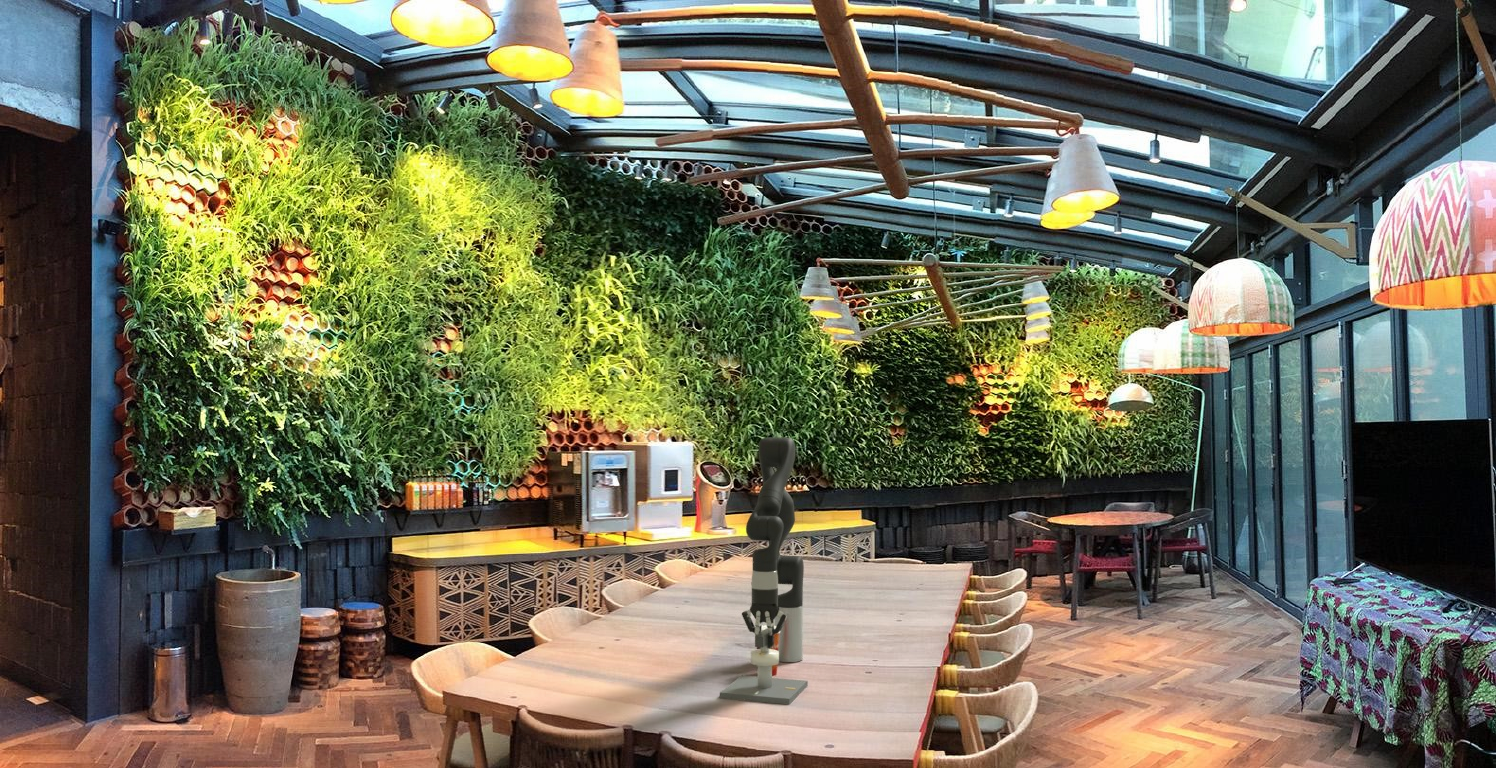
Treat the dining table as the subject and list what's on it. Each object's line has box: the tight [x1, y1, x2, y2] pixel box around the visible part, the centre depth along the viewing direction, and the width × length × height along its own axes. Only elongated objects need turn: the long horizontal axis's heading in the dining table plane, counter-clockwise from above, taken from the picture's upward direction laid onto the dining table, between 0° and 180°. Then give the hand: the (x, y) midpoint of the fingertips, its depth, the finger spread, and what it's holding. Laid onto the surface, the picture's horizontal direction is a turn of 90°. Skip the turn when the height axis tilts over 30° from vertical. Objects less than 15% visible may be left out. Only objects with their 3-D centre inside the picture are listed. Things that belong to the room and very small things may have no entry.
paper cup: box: [756, 624, 781, 677], centre depth 301 cm, size 8×8×14 cm
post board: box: [719, 666, 809, 705], centre depth 281 cm, size 20×20×8 cm
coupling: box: [750, 628, 780, 667], centre depth 281 cm, size 11×8×8 cm
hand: (764, 647), depth 281 cm, fingers closed on coupling, 2 cm apart
